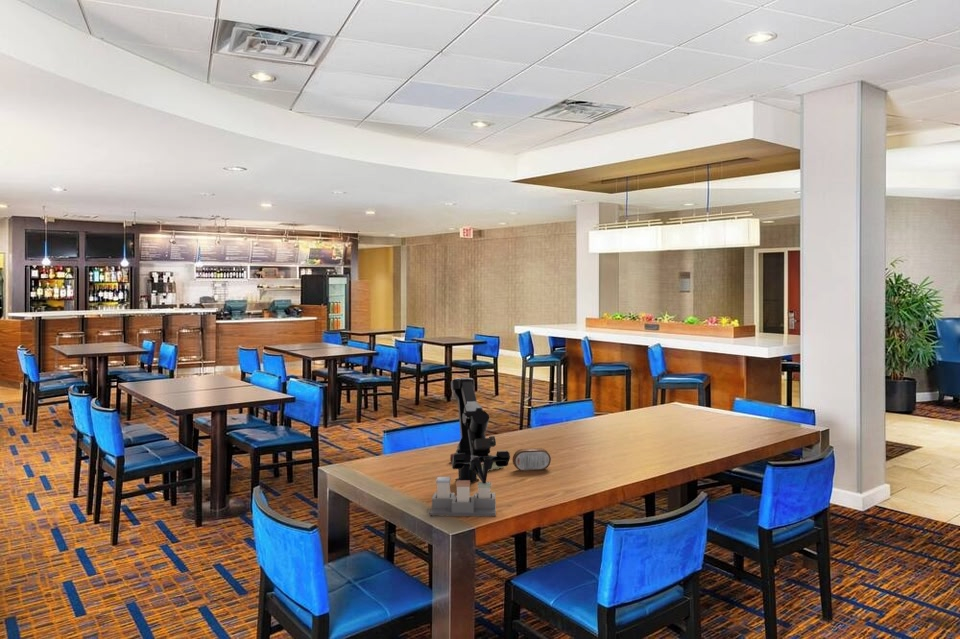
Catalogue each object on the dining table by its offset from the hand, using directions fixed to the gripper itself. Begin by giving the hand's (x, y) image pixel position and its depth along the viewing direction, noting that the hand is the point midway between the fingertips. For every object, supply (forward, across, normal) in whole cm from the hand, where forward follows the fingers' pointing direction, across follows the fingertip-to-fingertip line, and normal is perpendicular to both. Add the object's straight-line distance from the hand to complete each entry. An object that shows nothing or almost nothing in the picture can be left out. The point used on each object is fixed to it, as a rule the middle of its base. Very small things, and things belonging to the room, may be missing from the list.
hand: (484, 482), depth 211 cm
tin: (-24, +27, +35) cm, 50 cm away
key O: (+5, 0, +5) cm, 7 cm away
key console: (+6, -7, +6) cm, 11 cm away
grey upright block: (+2, -13, +6) cm, 14 cm away
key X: (+6, -7, +2) cm, 10 cm away
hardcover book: (-32, +8, +44) cm, 55 cm away
